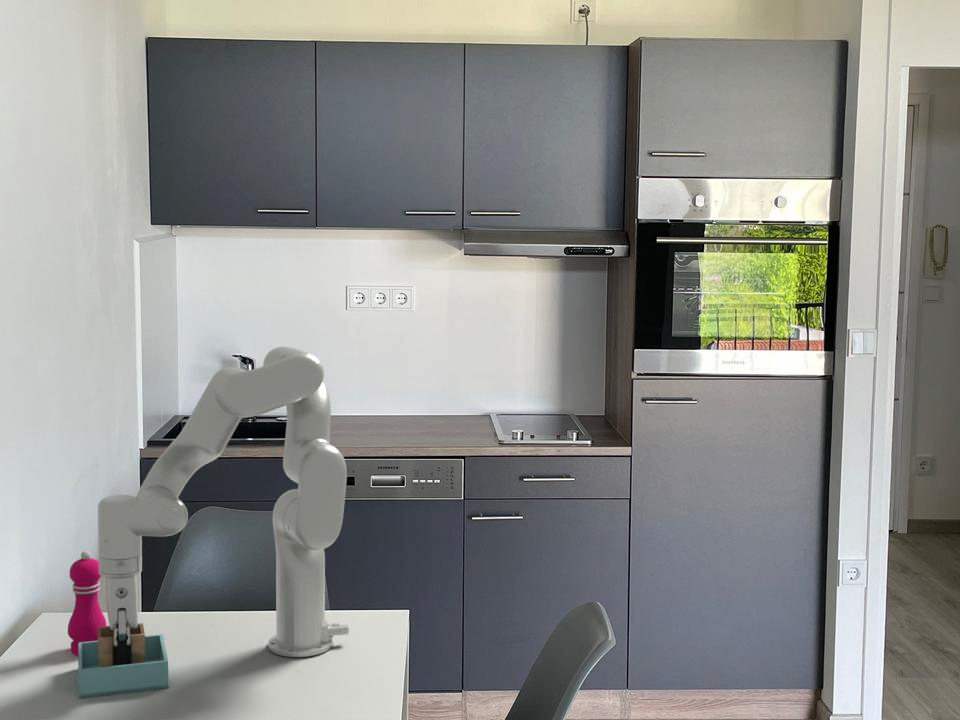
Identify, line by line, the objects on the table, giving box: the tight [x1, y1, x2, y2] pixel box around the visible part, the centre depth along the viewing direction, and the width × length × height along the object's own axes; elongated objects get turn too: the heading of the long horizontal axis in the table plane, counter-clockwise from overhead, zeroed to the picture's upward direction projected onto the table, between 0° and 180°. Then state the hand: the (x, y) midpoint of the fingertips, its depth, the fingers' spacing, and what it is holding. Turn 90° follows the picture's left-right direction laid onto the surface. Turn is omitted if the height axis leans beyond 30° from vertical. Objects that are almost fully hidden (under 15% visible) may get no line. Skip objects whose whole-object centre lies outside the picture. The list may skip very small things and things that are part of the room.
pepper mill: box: [67, 550, 108, 657], centre depth 217 cm, size 7×7×20 cm
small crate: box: [98, 622, 146, 667], centre depth 204 cm, size 8×6×6 cm
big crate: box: [77, 633, 169, 699], centre depth 205 cm, size 15×14×5 cm
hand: (121, 658), depth 205 cm, fingers closed on small crate, 6 cm apart
